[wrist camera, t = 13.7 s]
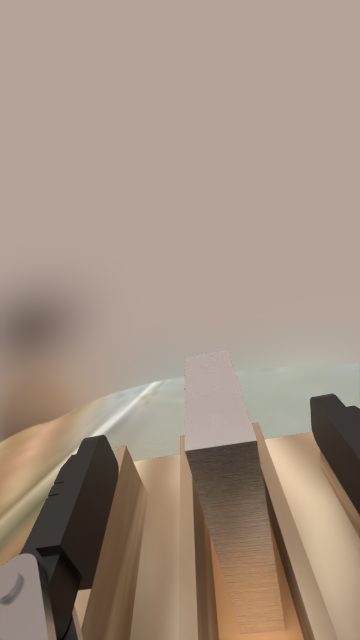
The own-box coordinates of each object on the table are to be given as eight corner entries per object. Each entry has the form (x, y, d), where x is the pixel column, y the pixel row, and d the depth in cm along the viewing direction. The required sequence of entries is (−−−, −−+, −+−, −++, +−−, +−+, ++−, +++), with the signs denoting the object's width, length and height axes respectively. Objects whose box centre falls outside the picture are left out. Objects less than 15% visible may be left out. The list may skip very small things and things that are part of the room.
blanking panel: (240, 633, 14) (184, 451, 8) (224, 512, 19) (185, 357, 14) (285, 631, 13) (256, 440, 8) (256, 509, 19) (228, 349, 14)
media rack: (30, 1002, 8) (-110, 1035, 6) (133, 469, 26) (110, 417, 23) (722, 1039, 6) (980, 1113, 4) (326, 436, 24) (325, 377, 21)
